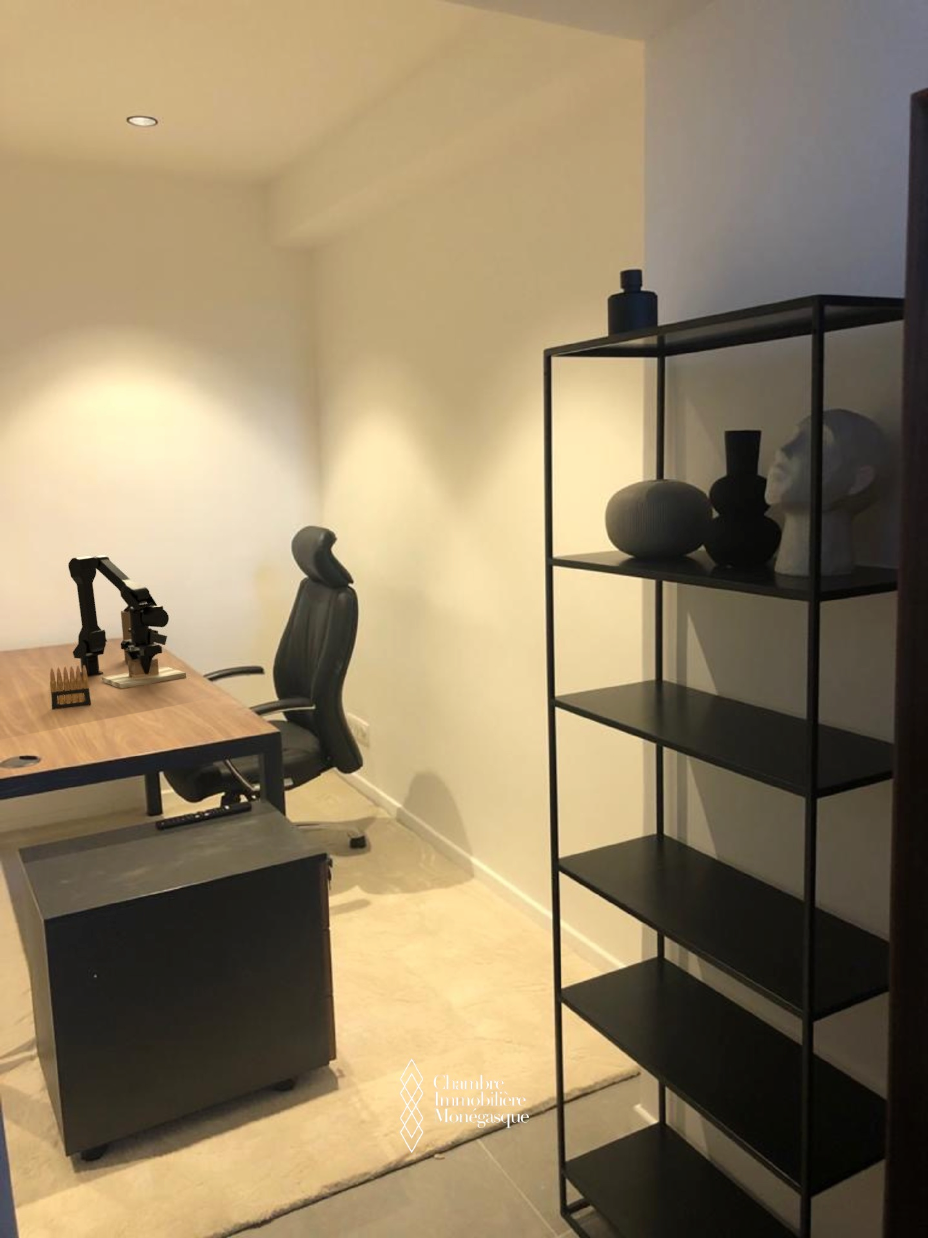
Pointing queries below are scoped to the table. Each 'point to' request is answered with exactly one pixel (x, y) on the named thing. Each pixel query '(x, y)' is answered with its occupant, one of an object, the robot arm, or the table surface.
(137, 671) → the block
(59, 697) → the ammunition clip
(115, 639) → the table surface
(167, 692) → the table surface
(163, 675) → the pine board
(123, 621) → the wooden block
